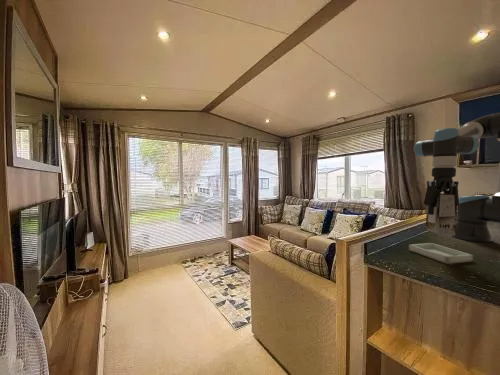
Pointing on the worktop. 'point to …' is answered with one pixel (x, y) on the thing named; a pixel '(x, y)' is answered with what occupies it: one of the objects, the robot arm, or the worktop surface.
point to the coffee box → (444, 215)
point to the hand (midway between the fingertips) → (440, 222)
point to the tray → (441, 253)
